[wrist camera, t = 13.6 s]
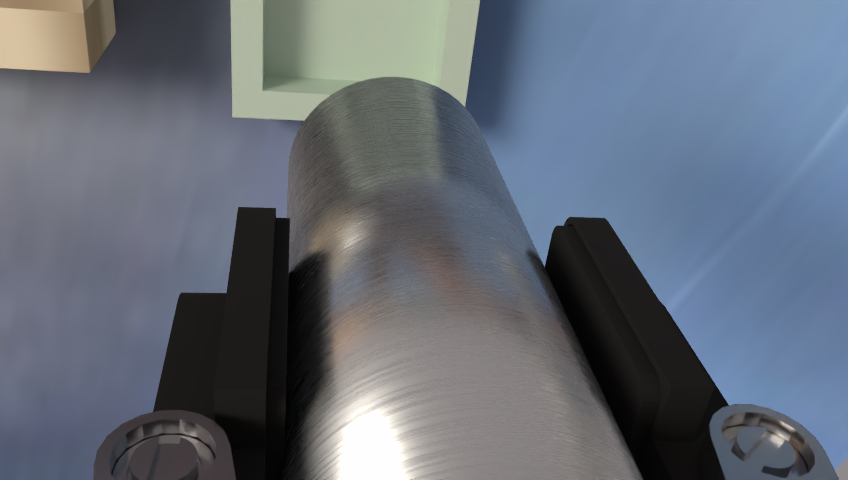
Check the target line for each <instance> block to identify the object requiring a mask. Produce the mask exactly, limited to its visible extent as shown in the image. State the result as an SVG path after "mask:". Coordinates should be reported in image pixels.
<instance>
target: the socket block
mask: <svg viewBox="0 0 848 480" xmlns="http://www.w3.org/2000/svg"><path fill="white" fill-rule="evenodd" d="M115 34H116V25H115V14H114V3H113V0H0V68H9V69H27V70H45V71H63V72H81V73H90V72H91V71H92V69H93V68H94V66H95V65H96V63H97V62H98V60H99V59H100V57H101V55H102V54H103V52H104V51H105V49H106V48H107V46H108V45H109V43H110V42H111V40H112V39H113V37H114V35H115Z"/></svg>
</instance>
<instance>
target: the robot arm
mask: <svg viewBox="0 0 848 480" xmlns="http://www.w3.org/2000/svg"><path fill="white" fill-rule="evenodd" d="M289 242H290V218H276V208H252V207H238V213H237V221H236V228H235V235H234V243H233V250H232V258H231V265H230V272H229V280H228V287H227V293H181V294H180V295H179V299H178V302H177V307H176V311H175V316H174V320H173V325H172V329H171V334H170V338H169V343H168V347H167V352H166V356H165V361H164V365H163V370H162V374H161V379H160V383H159V388H158V392H157V397H156V401H155V406H154V410H153V412H152V413H148V414H144V415H140V416H138V417H136V418H134V419H132V420H130V421H127V422H125V423H123V424H122V425H120V426H119V427H118V428H117V429H115V430H114V431H113V432H112V433H110V434H109V435H108V436H107V437H106V439H105V440H104V442H103V443H102V444H101V446H100V447H99V449H98V450H97V454H96V458H95V462H94V478H93V480H280V479H281V475H282V472H283V469H284V455H285V415H286V374H287V330H288V286H289ZM545 270H546V272H547V274H548V276H549V278H550V280H551V282H552V285H553V287H554V289H555V291H556V293H557V295H558V297H559V300H560V302H561V304H562V306H563V308H564V310H565V312H566V315H567V317H568V319H569V321H570V323H571V325H572V327H573V330H574V332H575V334H576V336H577V338H578V340H579V342H580V345H581V347H582V349H583V351H584V353H585V355H586V357H587V360H588V362H589V364H590V366H591V368H592V370H593V372H594V375H595V377H596V379H597V381H598V383H599V385H600V387H601V390H602V392H603V394H604V396H605V398H606V400H607V402H608V405H609V407H610V409H611V411H612V413H613V415H614V417H615V420H616V422H617V424H618V426H619V428H620V430H621V432H622V435H623V437H624V439H625V441H626V443H627V445H628V447H629V450H630V452H631V454H632V456H633V458H634V460H635V463H636V465H637V467H638V469H639V471H640V473H641V475H642V478H643V480H839V478H838V476H837V474H836V472H835V470H834V468H833V466H832V464H831V462H830V460H829V458H828V456H827V454H826V452H825V450H824V449H823V447H822V446H821V445H820V443H819V442H818V440H817V439H816V438H815V437H814V436H813V435H812V434H811V433H810V432H809V431H808V430H807V429H806V428H804V427H803V426H802V425H801V424H799V423H798V422H796V421H794V420H793V419H791V418H789V417H788V416H786V415H784V414H781V413H779V412H777V411H774V410H772V409H769V408H765V407H761V406H756V405H752V404H734V405H730V406H729V405H728V403H727V402H726V400H725V399H724V397H723V396H722V394H721V393H720V391H719V389H718V388H717V386H716V385H715V383H714V382H713V380H712V379H711V377H710V376H709V374H708V373H707V371H706V369H705V368H704V366H703V365H702V363H701V362H700V360H699V359H698V357H697V356H696V354H695V352H694V351H693V349H692V348H691V346H690V345H689V343H688V342H687V340H686V339H685V337H684V335H683V334H682V332H681V331H680V329H679V328H678V326H677V325H676V323H675V322H674V320H673V319H672V317H671V315H670V314H669V312H668V311H667V309H666V308H665V306H664V305H663V304H662V303H661V302H660V301H659V300H658V298H657V297H656V295H655V294H654V292H653V290H652V289H651V287H650V286H649V284H648V283H647V281H646V280H645V278H644V276H643V275H642V273H641V272H640V270H639V269H638V267H637V266H636V264H635V263H634V261H633V259H632V258H631V256H630V255H629V253H628V252H627V250H626V249H625V247H624V245H623V244H622V242H621V241H620V239H619V238H618V236H617V235H616V233H615V231H614V230H613V228H612V227H611V225H610V224H609V222H608V221H607V220H606V219H605V218H584V217H569V218H568V219H567V220H566V222H565V224H564V226H556V227H555V228H554V230H553V233H552V237H551V242H550V246H549V251H548V255H547V260H546V265H545Z"/></svg>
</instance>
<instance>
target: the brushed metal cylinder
mask: <svg viewBox="0 0 848 480" xmlns="http://www.w3.org/2000/svg"><path fill="white" fill-rule="evenodd" d="M287 218H290V242H289V286H288V330H287V374H286V415H285V455H284V469H283V472H282V475H281V479H280V480H643V478H642V475H641V473H640V471H639V469H638V467H637V465H636V463H635V460H634V458H633V456H632V454H631V452H630V450H629V447H628V445H627V443H626V441H625V439H624V437H623V435H622V432H621V430H620V428H619V426H618V424H617V422H616V420H615V417H614V415H613V413H612V411H611V409H610V407H609V405H608V402H607V400H606V398H605V396H604V394H603V392H602V390H601V387H600V385H599V383H598V381H597V379H596V377H595V375H594V372H593V370H592V368H591V366H590V364H589V362H588V360H587V357H586V355H585V353H584V351H583V349H582V347H581V345H580V342H579V340H578V338H577V336H576V334H575V332H574V330H573V327H572V325H571V323H570V321H569V319H568V317H567V315H566V312H565V310H564V308H563V306H562V304H561V302H560V300H559V297H558V295H557V293H556V291H555V289H554V287H553V285H552V282H551V280H550V278H549V276H548V274H547V272H546V270H545V267H544V265H543V263H542V261H541V259H540V257H539V255H538V252H537V250H536V248H535V246H534V244H533V242H532V240H531V237H530V235H529V233H528V231H527V229H526V227H525V225H524V222H523V220H522V218H521V216H520V214H519V212H518V210H517V207H516V205H515V203H514V201H513V199H512V197H511V195H510V192H509V190H508V188H507V186H506V184H505V182H504V180H503V177H502V175H501V173H500V171H499V169H498V167H497V165H496V162H495V160H494V158H493V156H492V154H491V152H490V150H489V147H488V145H487V143H486V141H485V139H484V137H483V134H482V132H481V130H480V128H479V126H478V125H477V123H476V121H475V119H474V118H473V116H472V115H471V114H470V112H469V111H468V110H467V109H466V108H465V107H464V106H463V105H462V104H461V103H460V102H459V101H458V100H457V99H456V98H454V97H453V96H452V95H450V94H449V93H448V92H446V91H444V90H442V89H440V88H439V87H437V86H434V85H432V84H429V83H427V82H424V81H420V80H416V79H412V78H404V77H379V78H372V79H367V80H364V81H360V82H356V83H354V84H351V85H349V86H346V87H344V88H342V89H340V90H339V91H337V92H335V93H333V94H332V95H330V96H329V97H328V98H326V99H325V100H324V101H322V102H321V103H320V104H319V105H318V106H317V107H316V108H315V109H314V110H313V111H312V112H311V113H310V114H309V115H308V117H307V118H306V119H305V121H304V122H303V123H302V125H301V127H300V129H299V130H298V132H297V134H296V137H295V139H294V142H293V144H292V148H291V152H290V156H289V166H288V193H287Z"/></svg>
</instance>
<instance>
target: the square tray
mask: <svg viewBox="0 0 848 480" xmlns="http://www.w3.org/2000/svg"><path fill="white" fill-rule="evenodd" d="M479 4H480V0H231V59H232V117H241V118H261V119H282V120H302V121H305V119H306V118H307V117H308V115H309V114H310V113H311V112H312V111H313V110H314V109H315V108H316V107H317V106H318V105H319V104H320V103H321V102H322V101H324V100H325V99H326V98H328V97H329V96H330V95H332V94H333V93H335V92H337V91H339V90H340V89H342V88H344V87H346V86H349V85H351V84H354V83H356V82H360V81H364V80H367V79H372V78H379V77H404V78H412V79H416V80H420V81H424V82H427V83H429V84H432V85H434V86H437V87H439V88H440V89H442V90H444V91H446V92H448V93H449V94H450V95H452V96H453V97H454V98H456V99H457V100H458V101H459V102H460V103H461V104H462V105H463V106H464V107H465V104H466V97H467V90H468V83H469V76H470V68H471V61H472V54H473V47H474V40H475V33H476V26H477V19H478V12H479Z"/></svg>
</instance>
